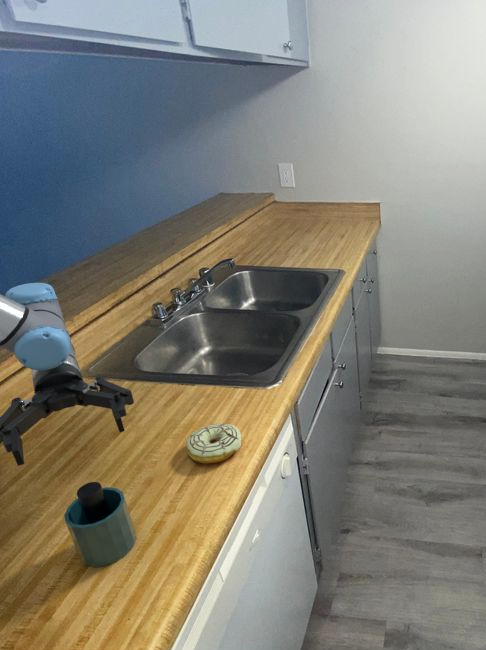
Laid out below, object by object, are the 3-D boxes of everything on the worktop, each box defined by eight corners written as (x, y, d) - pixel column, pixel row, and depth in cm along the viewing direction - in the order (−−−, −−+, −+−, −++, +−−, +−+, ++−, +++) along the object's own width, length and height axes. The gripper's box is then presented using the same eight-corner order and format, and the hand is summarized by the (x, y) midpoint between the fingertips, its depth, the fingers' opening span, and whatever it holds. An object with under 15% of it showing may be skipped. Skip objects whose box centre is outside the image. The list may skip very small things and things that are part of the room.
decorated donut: (251, 452, 99) (249, 438, 97) (199, 475, 93) (196, 460, 91) (230, 427, 106) (228, 413, 104) (181, 447, 99) (178, 433, 98)
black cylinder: (95, 541, 78) (75, 487, 72) (117, 531, 80) (99, 478, 74) (98, 555, 76) (78, 500, 70) (121, 544, 77) (102, 491, 72)
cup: (77, 541, 78) (61, 502, 74) (130, 518, 83) (118, 480, 79) (84, 576, 73) (68, 536, 69) (141, 549, 77) (129, 510, 73)
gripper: (135, 377, 98) (161, 430, 83) (-20, 419, 84) (-22, 493, 69) (127, 345, 94) (152, 395, 80) (-36, 384, 80) (-42, 453, 66)
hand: (71, 441), depth 74 cm, fingers open, 13 cm apart
